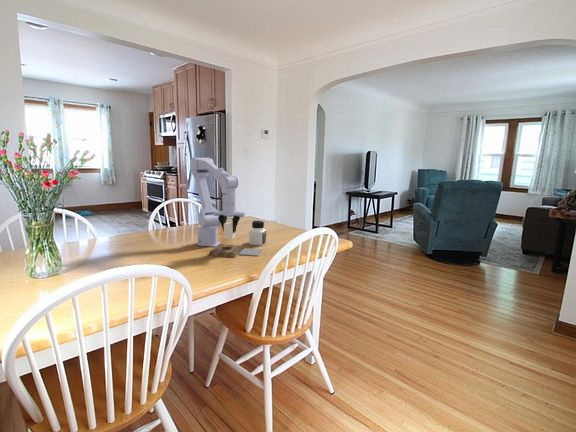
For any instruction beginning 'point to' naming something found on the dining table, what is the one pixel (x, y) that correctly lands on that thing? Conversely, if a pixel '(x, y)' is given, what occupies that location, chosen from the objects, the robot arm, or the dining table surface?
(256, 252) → the mat
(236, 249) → the pocket block
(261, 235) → the white bottle
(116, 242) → the dining table surface
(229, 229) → the peg
